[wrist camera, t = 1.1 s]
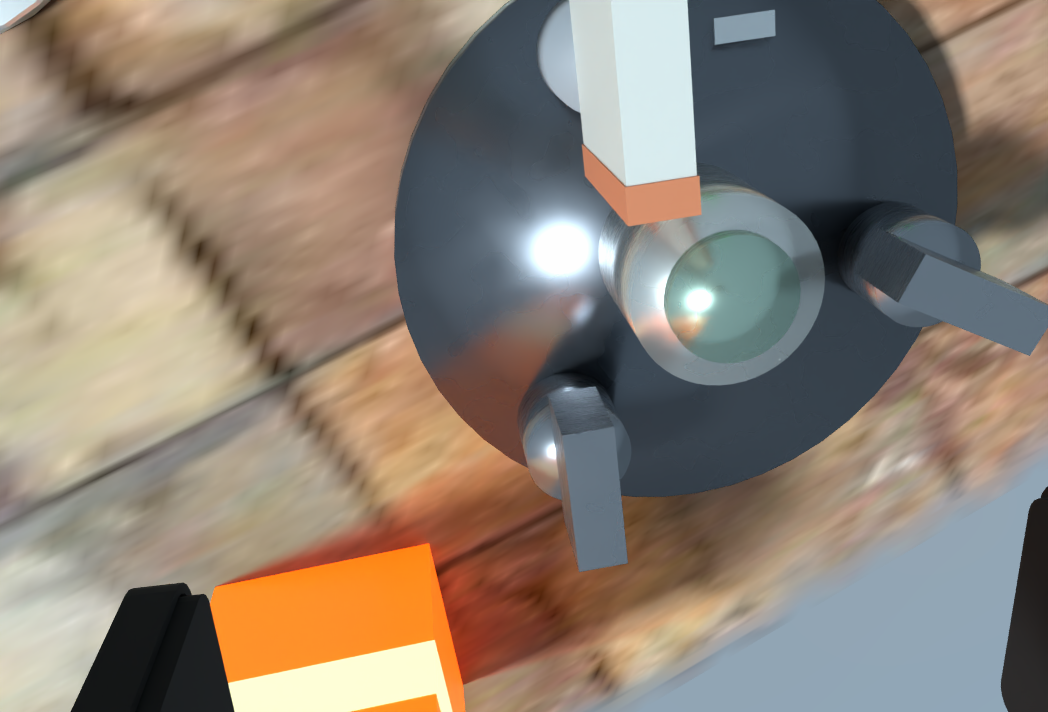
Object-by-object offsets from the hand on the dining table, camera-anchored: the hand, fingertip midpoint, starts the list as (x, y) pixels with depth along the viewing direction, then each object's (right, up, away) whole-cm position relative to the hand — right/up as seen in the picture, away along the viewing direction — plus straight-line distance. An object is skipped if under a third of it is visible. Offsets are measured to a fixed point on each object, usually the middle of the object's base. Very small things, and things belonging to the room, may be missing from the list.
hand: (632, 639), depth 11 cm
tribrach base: (+4, +8, +24) cm, 25 cm away
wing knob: (+1, +13, +19) cm, 23 cm away
